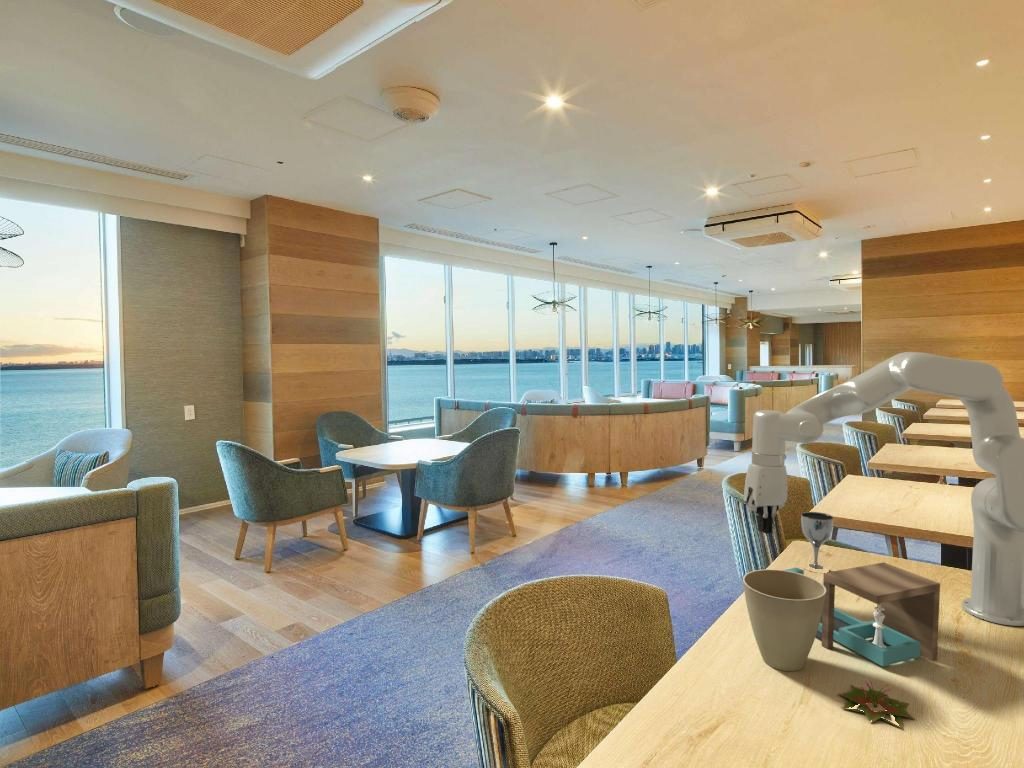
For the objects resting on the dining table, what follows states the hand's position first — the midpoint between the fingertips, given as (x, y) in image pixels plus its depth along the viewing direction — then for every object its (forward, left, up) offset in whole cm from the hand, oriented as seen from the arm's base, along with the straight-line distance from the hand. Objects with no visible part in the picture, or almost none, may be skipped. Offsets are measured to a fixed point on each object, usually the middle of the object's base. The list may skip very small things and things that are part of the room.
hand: (765, 531), depth 148 cm
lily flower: (+17, +44, -16) cm, 50 cm away
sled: (0, +21, -15) cm, 26 cm away
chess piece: (0, +31, -16) cm, 35 cm away
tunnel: (0, +26, -16) cm, 30 cm away
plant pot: (+21, +27, -16) cm, 38 cm away
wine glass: (-25, -8, -16) cm, 31 cm away
